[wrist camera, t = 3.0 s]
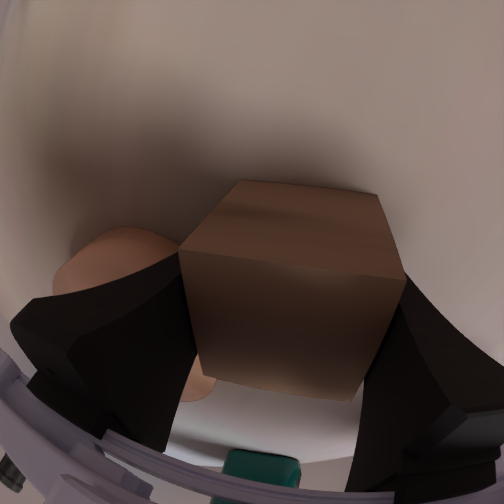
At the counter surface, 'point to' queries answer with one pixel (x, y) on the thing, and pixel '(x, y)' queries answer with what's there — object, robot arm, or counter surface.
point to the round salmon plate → (118, 266)
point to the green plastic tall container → (261, 469)
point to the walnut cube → (291, 287)
